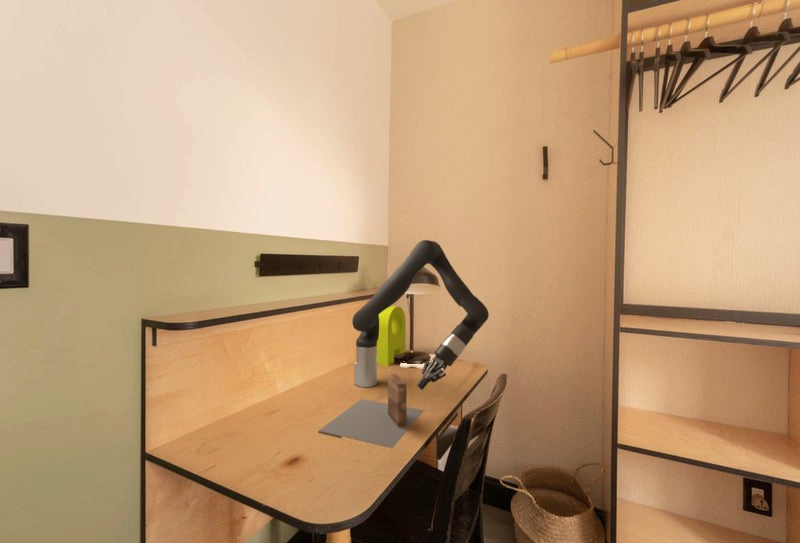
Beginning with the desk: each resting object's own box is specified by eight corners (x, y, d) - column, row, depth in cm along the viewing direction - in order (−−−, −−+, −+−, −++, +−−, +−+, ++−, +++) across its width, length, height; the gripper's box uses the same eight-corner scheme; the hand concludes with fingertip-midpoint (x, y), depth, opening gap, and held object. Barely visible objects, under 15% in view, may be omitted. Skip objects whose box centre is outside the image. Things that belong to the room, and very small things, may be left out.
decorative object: (387, 366, 182) (387, 308, 181) (376, 364, 185) (377, 308, 184) (405, 356, 200) (405, 304, 199) (395, 355, 203) (395, 303, 202)
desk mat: (318, 432, 112) (318, 430, 111) (361, 400, 137) (361, 398, 137) (392, 449, 101) (392, 447, 101) (424, 411, 127) (424, 410, 127)
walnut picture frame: (397, 427, 114) (398, 384, 114) (388, 414, 123) (388, 375, 123) (407, 425, 115) (407, 383, 115) (396, 413, 125) (396, 374, 124)
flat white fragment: (439, 374, 175) (444, 358, 200) (440, 367, 175) (444, 352, 199) (398, 369, 180) (408, 354, 204) (399, 362, 180) (408, 349, 204)
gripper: (435, 339, 131) (405, 375, 127) (452, 347, 119) (420, 387, 115) (447, 351, 133) (418, 388, 129) (466, 361, 121) (434, 401, 117)
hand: (419, 387), depth 122 cm, fingers closed
